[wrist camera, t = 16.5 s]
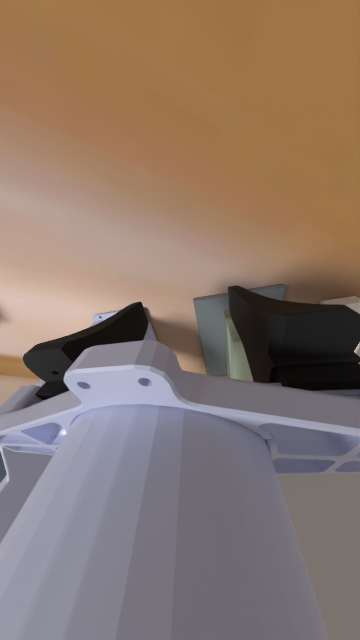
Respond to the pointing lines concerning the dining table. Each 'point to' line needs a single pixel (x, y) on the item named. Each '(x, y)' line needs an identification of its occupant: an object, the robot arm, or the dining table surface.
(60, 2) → the dining table surface
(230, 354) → the block
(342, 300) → the chalk tile
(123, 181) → the dining table surface
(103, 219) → the dining table surface
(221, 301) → the slate board
